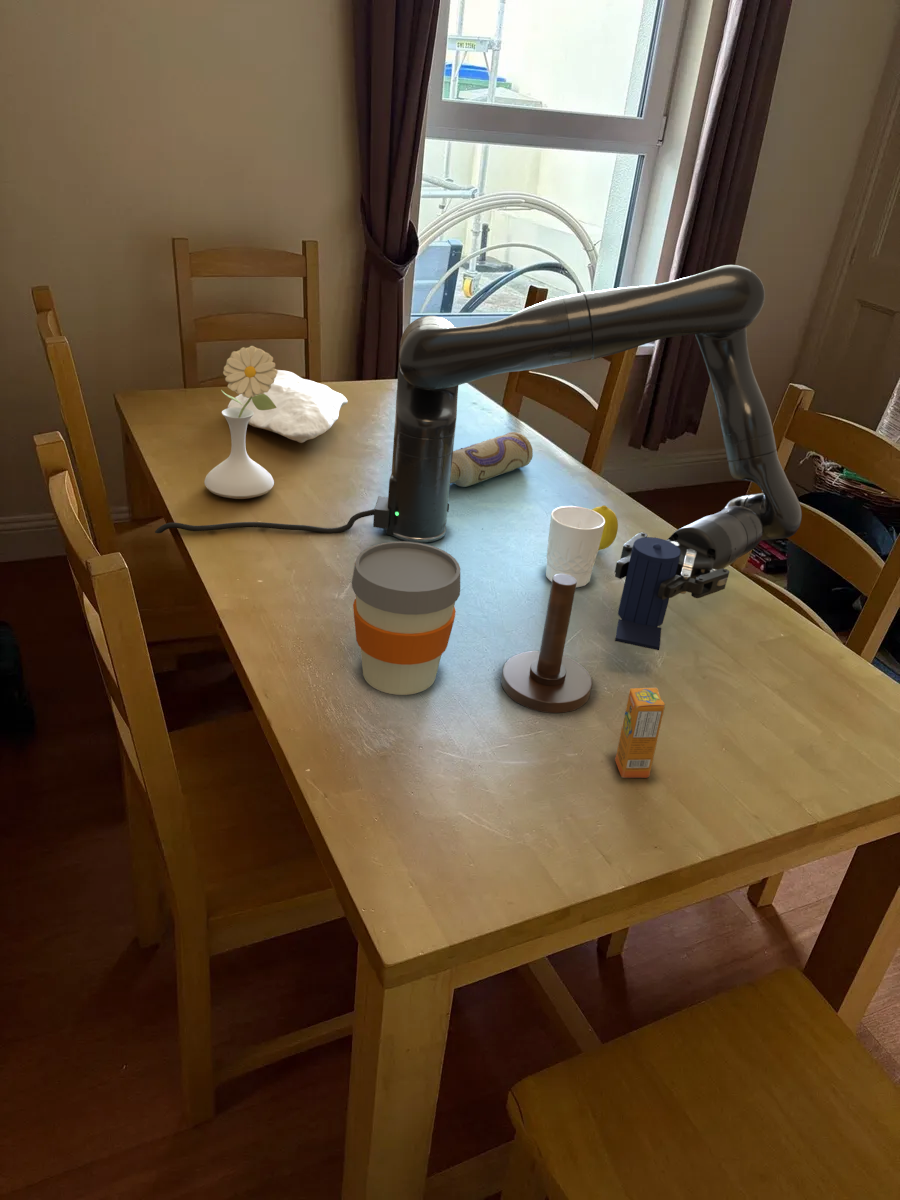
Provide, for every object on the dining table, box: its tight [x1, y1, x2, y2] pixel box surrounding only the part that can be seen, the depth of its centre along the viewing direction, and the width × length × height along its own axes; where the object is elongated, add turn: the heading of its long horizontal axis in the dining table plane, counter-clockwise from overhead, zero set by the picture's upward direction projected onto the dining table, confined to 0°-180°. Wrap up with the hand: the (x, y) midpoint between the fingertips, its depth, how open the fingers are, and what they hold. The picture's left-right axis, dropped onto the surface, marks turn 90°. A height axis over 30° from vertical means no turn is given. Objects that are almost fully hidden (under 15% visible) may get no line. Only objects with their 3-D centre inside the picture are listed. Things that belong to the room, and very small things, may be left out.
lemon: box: [591, 505, 619, 552], centre depth 141 cm, size 6×6×8 cm
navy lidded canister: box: [614, 536, 681, 651], centre depth 111 cm, size 10×6×10 cm, turn 166°
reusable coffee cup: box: [351, 540, 461, 696], centre depth 105 cm, size 13×13×15 cm
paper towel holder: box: [500, 574, 593, 714], centre depth 106 cm, size 11×11×15 cm
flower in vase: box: [203, 345, 278, 500], centre depth 144 cm, size 13×11×25 cm
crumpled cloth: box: [227, 369, 348, 444], centre depth 177 cm, size 24×35×9 cm
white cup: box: [545, 505, 605, 588], centre depth 132 cm, size 8×8×10 cm
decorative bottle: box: [450, 431, 534, 488], centre depth 162 cm, size 26×8×7 cm, turn 136°
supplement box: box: [614, 687, 666, 779], centre depth 95 cm, size 3×3×10 cm
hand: (639, 581), depth 111 cm, fingers closed on navy lidded canister, 5 cm apart
